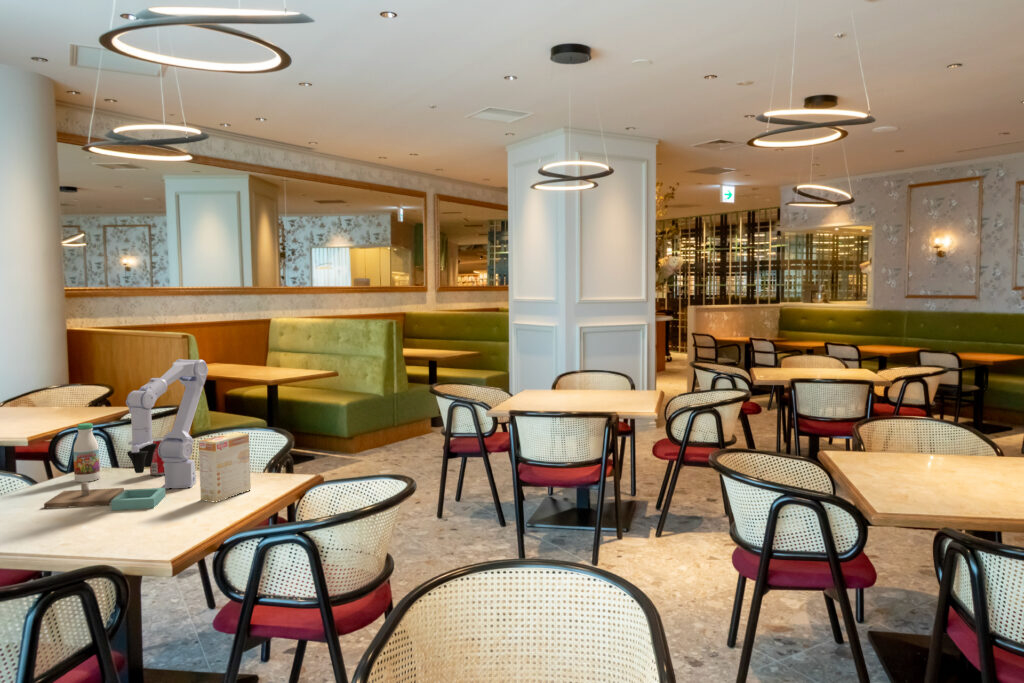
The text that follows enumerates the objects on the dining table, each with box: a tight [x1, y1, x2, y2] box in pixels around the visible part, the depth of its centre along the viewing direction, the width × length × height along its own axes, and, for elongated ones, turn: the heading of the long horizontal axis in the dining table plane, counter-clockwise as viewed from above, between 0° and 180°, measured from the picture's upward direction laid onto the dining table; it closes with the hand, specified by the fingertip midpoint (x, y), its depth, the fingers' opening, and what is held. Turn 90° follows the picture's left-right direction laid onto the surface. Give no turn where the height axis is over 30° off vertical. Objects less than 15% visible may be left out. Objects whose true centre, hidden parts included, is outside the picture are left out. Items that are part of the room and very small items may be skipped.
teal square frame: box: [110, 487, 166, 511], centre depth 220 cm, size 12×12×3 cm
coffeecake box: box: [198, 431, 252, 503], centre depth 228 cm, size 15×7×20 cm, turn 155°
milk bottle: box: [73, 422, 101, 483], centre depth 247 cm, size 8×8×20 cm
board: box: [43, 482, 125, 509], centre depth 223 cm, size 18×14×6 cm
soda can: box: [149, 436, 165, 476], centre depth 255 cm, size 7×7×13 cm
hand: (143, 469), depth 225 cm, fingers open, 7 cm apart
